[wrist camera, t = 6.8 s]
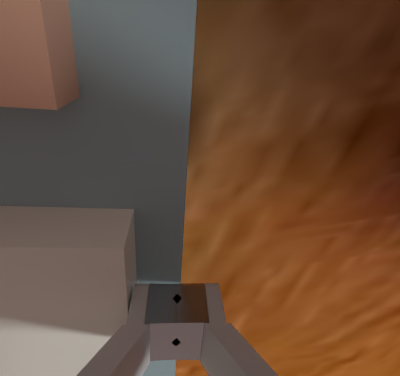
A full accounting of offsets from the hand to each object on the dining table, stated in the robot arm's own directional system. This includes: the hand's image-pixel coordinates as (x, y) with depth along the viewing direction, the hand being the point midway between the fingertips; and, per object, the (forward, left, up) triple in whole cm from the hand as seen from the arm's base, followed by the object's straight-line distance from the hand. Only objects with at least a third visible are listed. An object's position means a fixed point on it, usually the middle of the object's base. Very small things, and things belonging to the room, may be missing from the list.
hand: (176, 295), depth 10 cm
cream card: (+6, 0, -1) cm, 6 cm away
